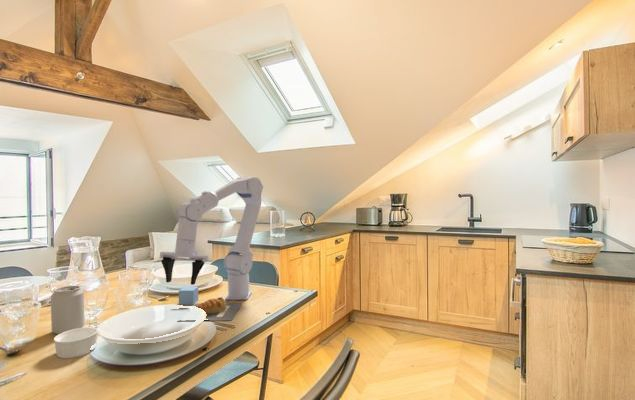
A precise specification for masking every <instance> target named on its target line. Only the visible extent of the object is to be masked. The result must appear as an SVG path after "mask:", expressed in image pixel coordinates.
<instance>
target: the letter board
mask: <svg viewBox="0 0 635 400" xmlns="http://www.w3.org/2000/svg"><path fill="white" fill-rule="evenodd" d="M200 304H201V303H195V304H194V305H192V306H198V305H200ZM225 304H226V309H225V311H223V312H217V313H214V314H213V313H212V314H207V316H206V319H208V320H210V321H209V322H232V320H233V318H235V316H236V314H237V313H238V311H239V310H240V308H241V306H242V305H243V302H233V303H231V302H230V303H229V302H228V303H227V302H225Z"/></svg>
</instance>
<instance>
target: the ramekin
mask: <svg viewBox="0 0 635 400" xmlns="http://www.w3.org/2000/svg"><path fill="white" fill-rule="evenodd" d="M98 332H99V329H98V328H96V327H94V326H93V327H92V326H91V327H90V326H89V327H86V326H83V327H82V328H77V329H73V330H69V331H66V332H63V333H61V334H59V335H57V334H56V335H55V336H54V338H53V343H54V346H55V353H56V357H58V358H60V359H75V358H79V357H82V356H85V355H88V354H90V353H91V352H90V348H91V346H92V345H94V344H95V343H96V344H97V342H96V341H97V336H98Z"/></svg>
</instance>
